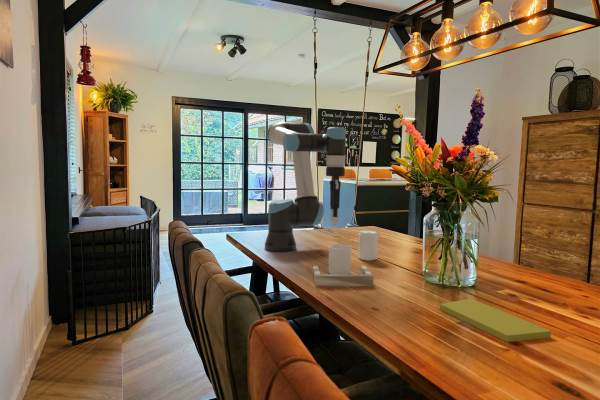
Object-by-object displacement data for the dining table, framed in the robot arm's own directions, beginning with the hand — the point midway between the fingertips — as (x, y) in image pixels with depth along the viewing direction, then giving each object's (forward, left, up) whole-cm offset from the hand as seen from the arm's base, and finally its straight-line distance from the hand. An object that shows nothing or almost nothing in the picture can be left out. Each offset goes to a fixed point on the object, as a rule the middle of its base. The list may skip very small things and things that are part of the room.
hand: (334, 224), depth 158 cm
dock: (+22, 0, -16) cm, 27 cm away
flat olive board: (+59, +34, -17) cm, 70 cm away
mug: (+12, 0, -17) cm, 21 cm away
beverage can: (-8, +16, -17) cm, 24 cm away
